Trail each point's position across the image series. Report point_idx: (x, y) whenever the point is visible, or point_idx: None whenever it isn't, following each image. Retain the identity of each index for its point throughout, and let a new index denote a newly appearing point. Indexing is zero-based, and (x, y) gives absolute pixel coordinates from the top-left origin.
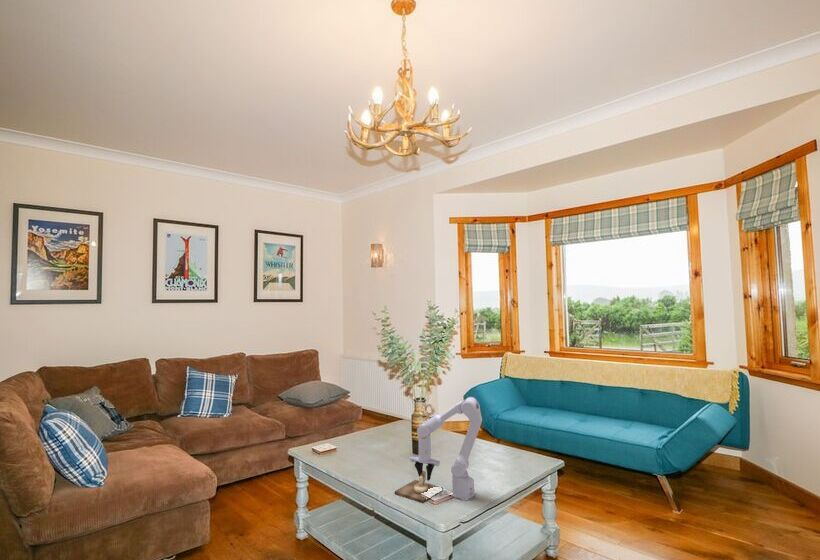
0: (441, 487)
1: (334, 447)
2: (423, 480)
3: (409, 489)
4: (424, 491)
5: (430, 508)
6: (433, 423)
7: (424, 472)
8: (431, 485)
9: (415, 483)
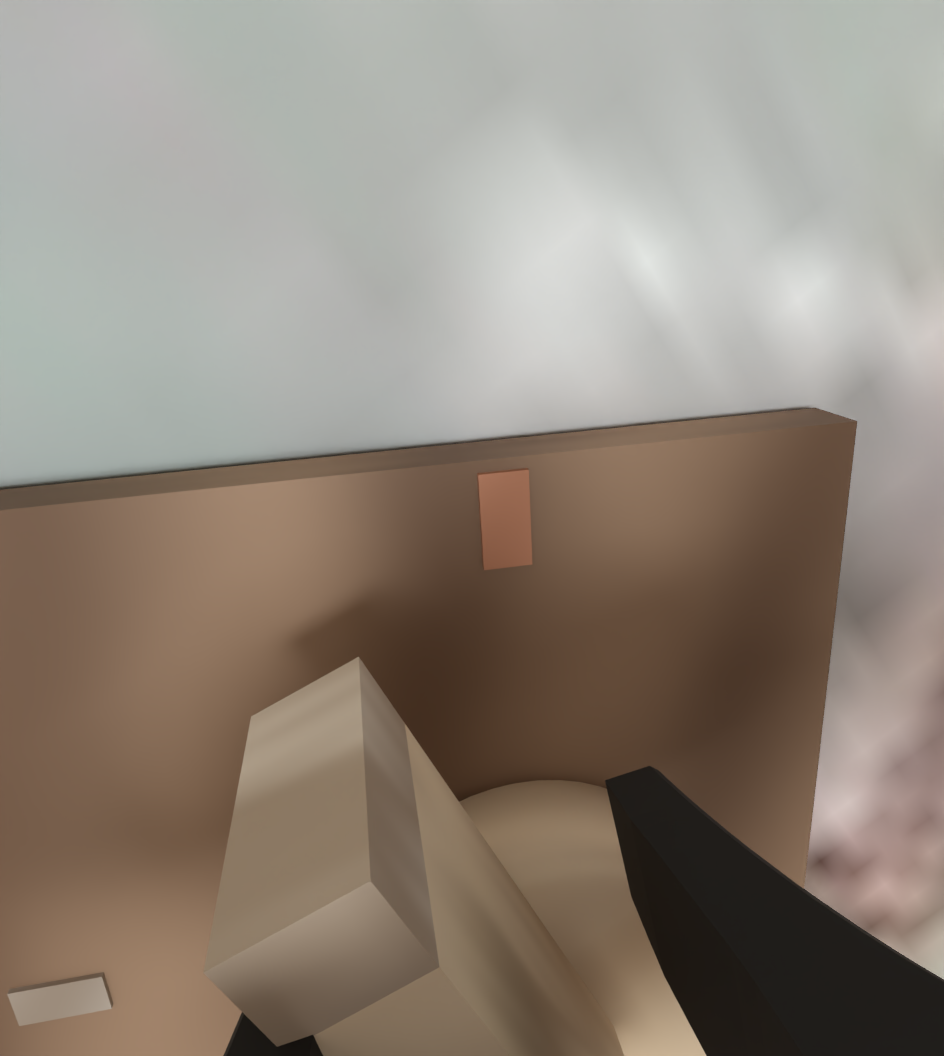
0: (824, 445)
1: None
2: (581, 1036)
3: None
4: None
5: None
6: None
7: (436, 1010)
8: (530, 530)
9: (63, 721)
